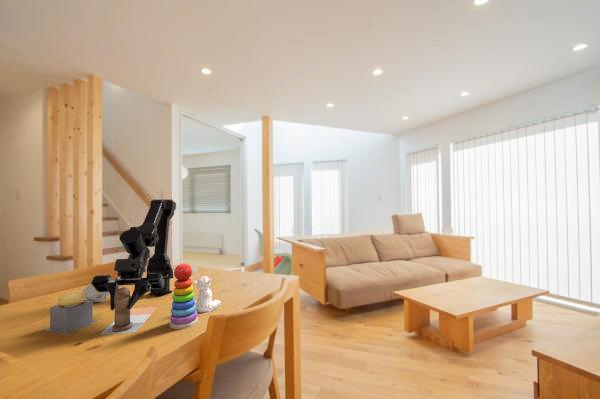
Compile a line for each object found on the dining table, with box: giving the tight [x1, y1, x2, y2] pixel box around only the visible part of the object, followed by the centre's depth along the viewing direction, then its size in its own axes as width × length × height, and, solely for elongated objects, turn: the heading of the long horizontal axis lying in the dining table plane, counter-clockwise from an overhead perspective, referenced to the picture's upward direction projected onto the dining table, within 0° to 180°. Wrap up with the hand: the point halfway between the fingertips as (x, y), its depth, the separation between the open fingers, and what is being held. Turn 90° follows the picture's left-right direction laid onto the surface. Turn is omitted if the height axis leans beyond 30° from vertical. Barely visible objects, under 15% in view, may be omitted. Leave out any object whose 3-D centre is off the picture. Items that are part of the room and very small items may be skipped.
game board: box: [98, 306, 158, 336], centre depth 85 cm, size 20×9×1 cm, turn 10°
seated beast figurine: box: [193, 275, 222, 313], centre depth 95 cm, size 10×9×12 cm
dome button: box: [57, 292, 87, 308], centre depth 81 cm, size 6×6×7 cm
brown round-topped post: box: [112, 286, 132, 332], centre depth 79 cm, size 5×5×12 cm
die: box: [82, 282, 110, 304], centre depth 104 cm, size 8×9×10 cm
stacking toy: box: [168, 263, 199, 330], centre depth 83 cm, size 8×8×19 cm
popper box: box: [44, 300, 99, 335], centre depth 81 cm, size 9×9×7 cm
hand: (120, 309), depth 78 cm, fingers open, 4 cm apart
